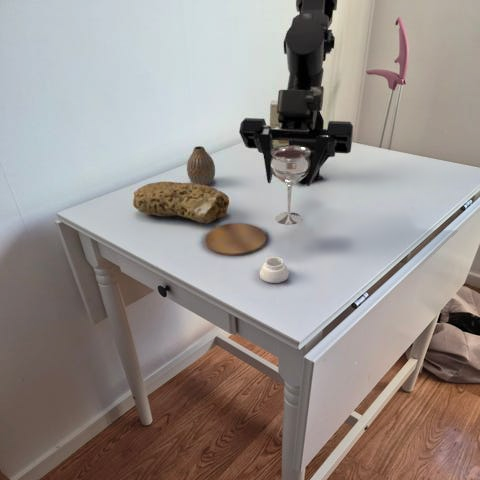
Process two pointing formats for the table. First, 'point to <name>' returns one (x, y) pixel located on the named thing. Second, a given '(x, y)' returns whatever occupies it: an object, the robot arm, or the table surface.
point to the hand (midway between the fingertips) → (287, 183)
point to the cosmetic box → (276, 124)
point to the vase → (200, 167)
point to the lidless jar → (274, 270)
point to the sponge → (181, 201)
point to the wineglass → (290, 174)
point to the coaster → (235, 239)
